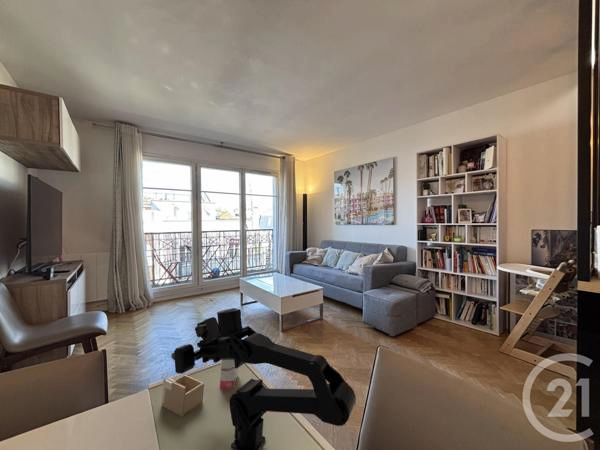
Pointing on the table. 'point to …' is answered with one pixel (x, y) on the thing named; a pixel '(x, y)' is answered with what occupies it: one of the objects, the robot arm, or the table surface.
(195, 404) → the carton
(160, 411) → the table surface
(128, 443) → the table surface
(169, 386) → the end flap
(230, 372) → the ink box
